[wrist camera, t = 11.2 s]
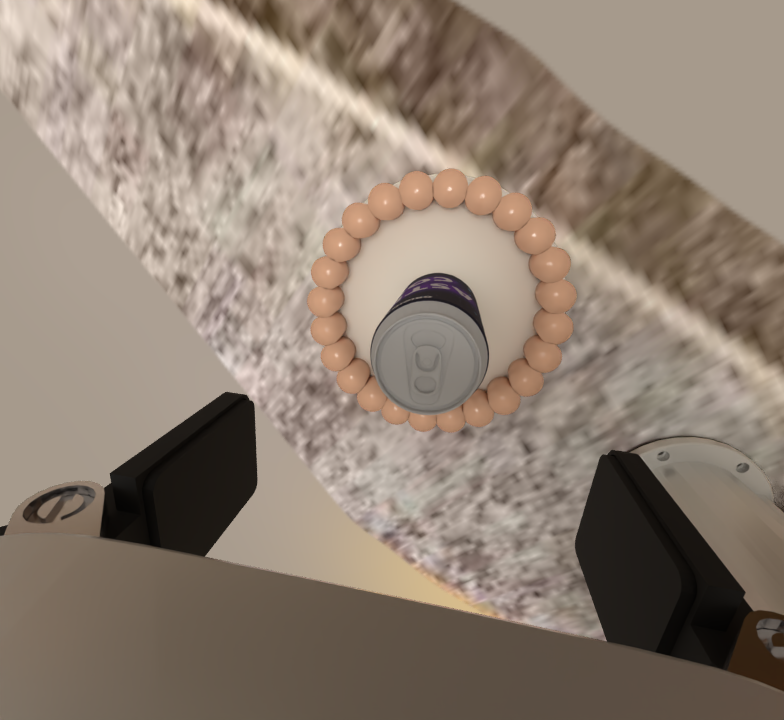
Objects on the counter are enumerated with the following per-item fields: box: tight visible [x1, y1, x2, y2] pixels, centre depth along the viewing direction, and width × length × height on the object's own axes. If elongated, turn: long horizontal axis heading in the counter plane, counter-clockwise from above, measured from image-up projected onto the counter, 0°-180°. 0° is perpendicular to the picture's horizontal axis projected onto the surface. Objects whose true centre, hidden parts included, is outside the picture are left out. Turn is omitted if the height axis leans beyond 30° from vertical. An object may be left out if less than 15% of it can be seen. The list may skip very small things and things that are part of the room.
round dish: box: [307, 169, 577, 432], centre depth 28 cm, size 18×18×3 cm
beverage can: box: [370, 273, 489, 415], centre depth 23 cm, size 6×6×12 cm
